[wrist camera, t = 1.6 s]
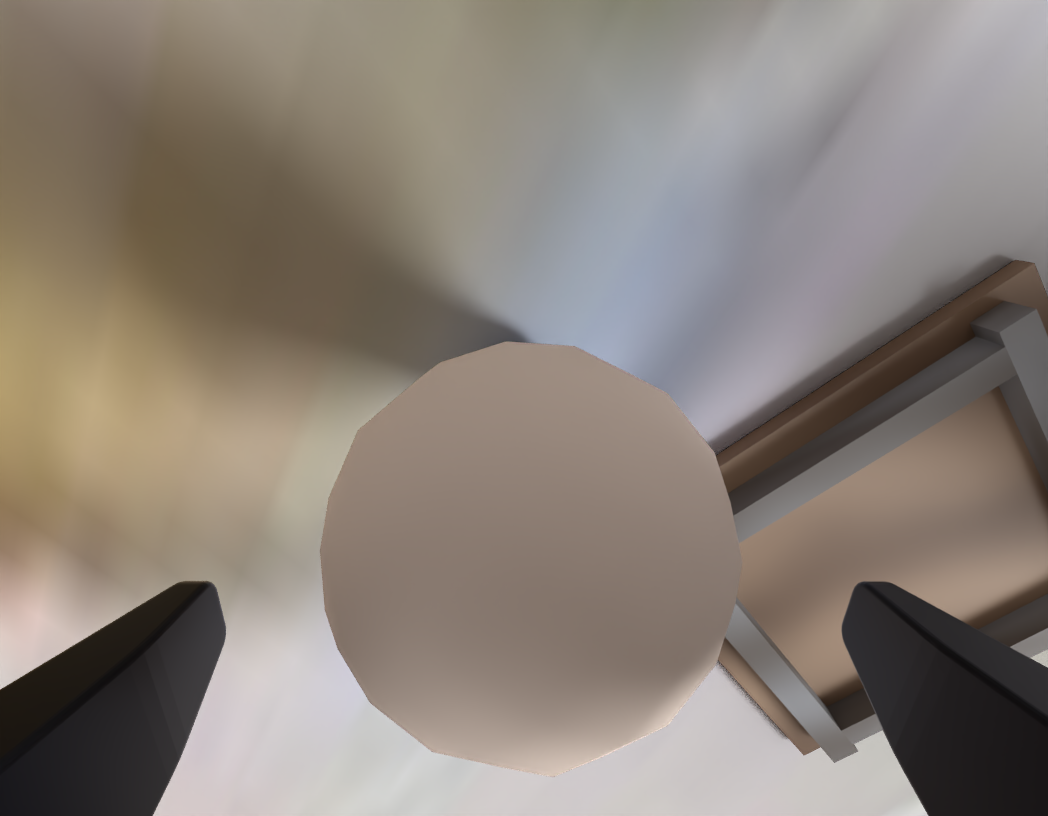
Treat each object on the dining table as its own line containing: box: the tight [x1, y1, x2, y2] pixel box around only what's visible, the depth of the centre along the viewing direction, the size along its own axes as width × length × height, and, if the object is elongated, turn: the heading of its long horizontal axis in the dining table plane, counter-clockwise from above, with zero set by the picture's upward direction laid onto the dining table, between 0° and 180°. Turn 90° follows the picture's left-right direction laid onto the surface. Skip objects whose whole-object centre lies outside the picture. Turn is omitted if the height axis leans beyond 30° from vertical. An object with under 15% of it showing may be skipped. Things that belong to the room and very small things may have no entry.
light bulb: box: [320, 341, 742, 777], centre depth 11 cm, size 7×7×11 cm
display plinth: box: [716, 260, 1048, 763], centre depth 18 cm, size 14×14×2 cm
